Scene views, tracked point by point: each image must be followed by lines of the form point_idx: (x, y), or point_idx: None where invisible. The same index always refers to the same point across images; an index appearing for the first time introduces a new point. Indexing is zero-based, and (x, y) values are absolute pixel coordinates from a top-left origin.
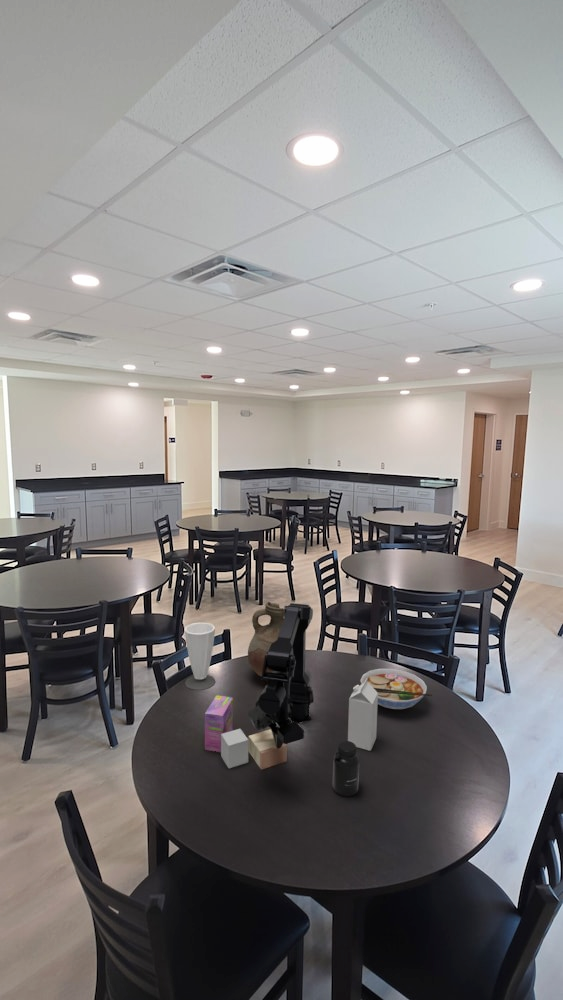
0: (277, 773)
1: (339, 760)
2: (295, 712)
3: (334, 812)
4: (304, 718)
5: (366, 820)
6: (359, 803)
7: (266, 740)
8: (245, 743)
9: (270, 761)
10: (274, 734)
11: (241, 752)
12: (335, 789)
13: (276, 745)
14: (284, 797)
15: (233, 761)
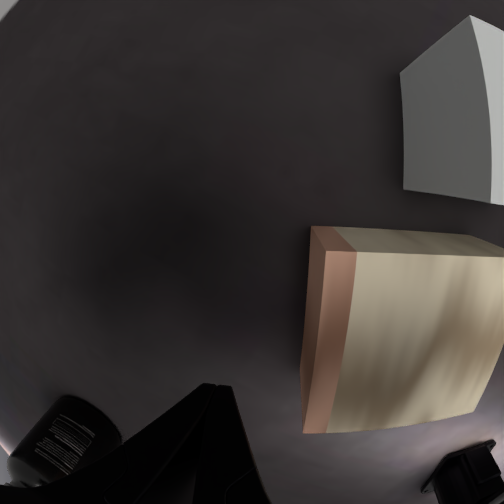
0: (238, 290)
1: (14, 471)
2: (464, 481)
3: (17, 340)
4: (435, 483)
5: (3, 375)
6: (41, 404)
7: (430, 351)
8: (474, 169)
9: (310, 296)
10: (196, 491)
11: (440, 138)
12: (68, 401)
13: (201, 398)
14: (85, 238)
15: (415, 90)
